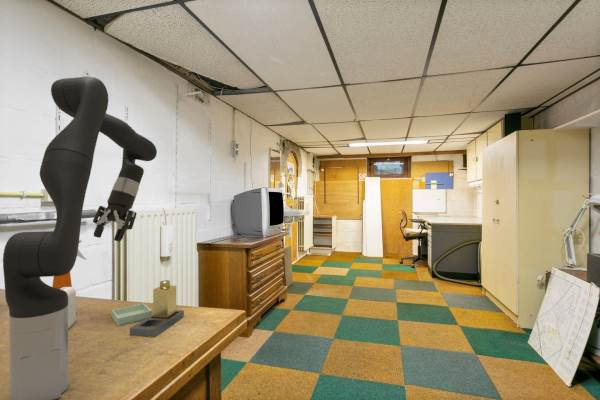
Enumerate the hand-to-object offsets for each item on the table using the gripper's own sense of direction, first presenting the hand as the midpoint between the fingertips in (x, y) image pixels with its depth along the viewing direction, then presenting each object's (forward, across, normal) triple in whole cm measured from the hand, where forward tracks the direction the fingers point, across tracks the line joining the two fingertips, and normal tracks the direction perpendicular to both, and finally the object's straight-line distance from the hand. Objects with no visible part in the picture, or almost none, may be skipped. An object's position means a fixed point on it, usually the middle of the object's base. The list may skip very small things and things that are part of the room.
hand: (106, 239), depth 101 cm
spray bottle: (+27, -12, +9) cm, 31 cm away
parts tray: (+23, +9, +13) cm, 28 cm away
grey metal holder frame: (+23, +22, +10) cm, 33 cm away
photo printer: (+29, -5, +2) cm, 30 cm away
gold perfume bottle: (+22, +21, +13) cm, 33 cm away
